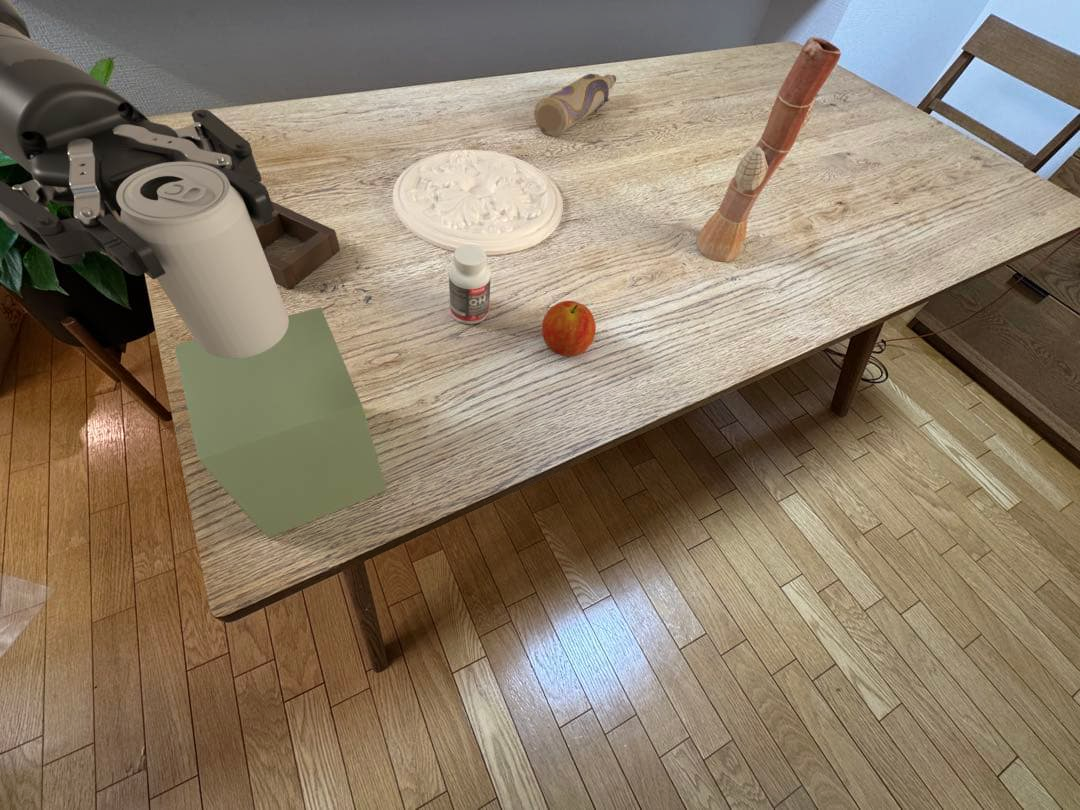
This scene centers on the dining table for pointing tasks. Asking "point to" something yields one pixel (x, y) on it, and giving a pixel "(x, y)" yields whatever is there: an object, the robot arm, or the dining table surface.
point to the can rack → (306, 256)
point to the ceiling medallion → (477, 201)
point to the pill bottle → (469, 285)
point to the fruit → (568, 328)
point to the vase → (768, 149)
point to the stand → (282, 426)
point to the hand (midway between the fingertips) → (212, 235)
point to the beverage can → (206, 256)
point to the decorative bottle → (572, 103)
